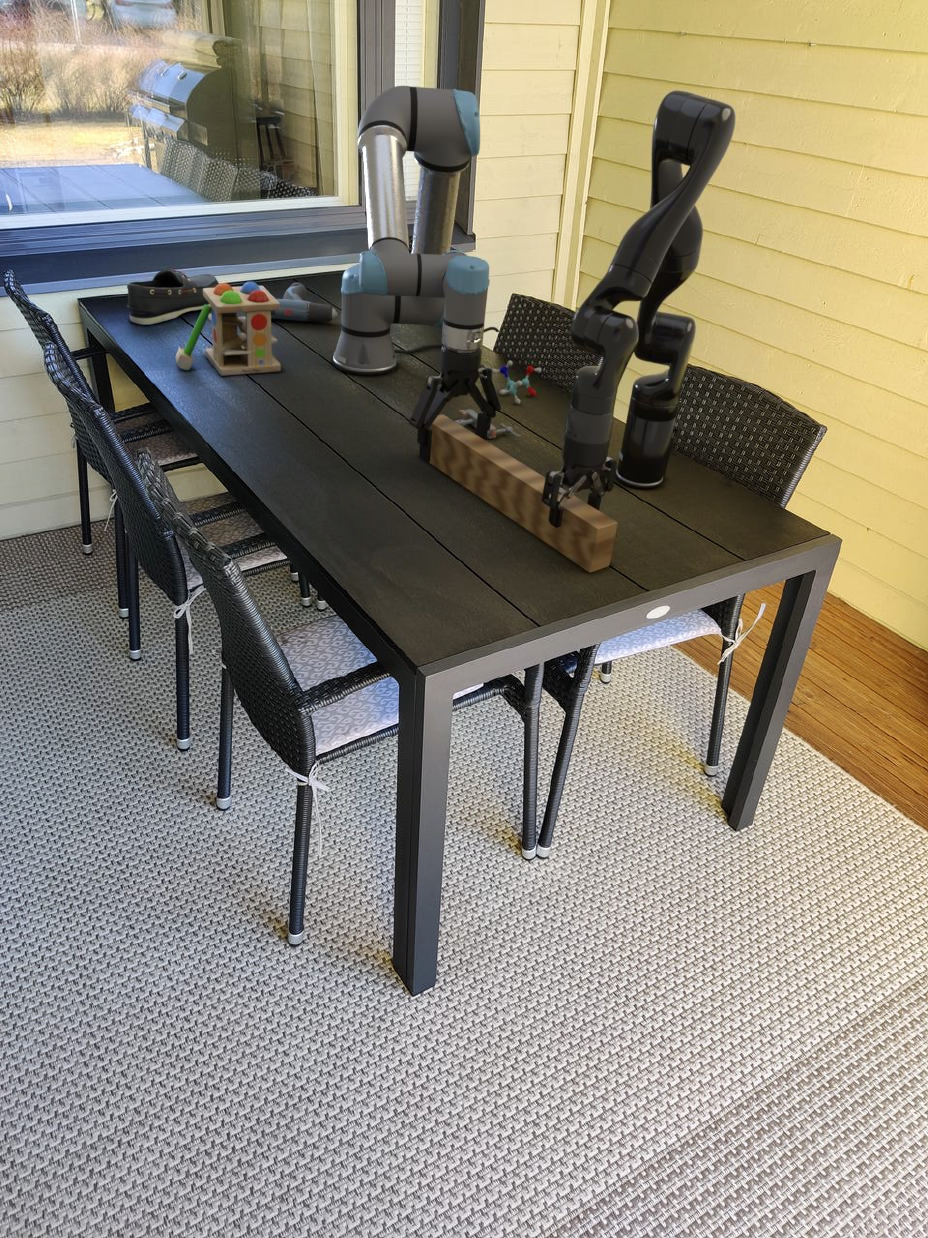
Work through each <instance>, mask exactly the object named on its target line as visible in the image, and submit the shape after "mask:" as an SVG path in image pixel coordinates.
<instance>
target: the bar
mask: <svg viewBox="0 0 928 1238" xmlns="http://www.w3.org/2000/svg"><path fill="white" fill-rule="evenodd" d="M425 422H426V421H425ZM425 422H424V423H425ZM430 429H432V443H431V457H430V462H428V463H429V464H430V465H432V466H433V467H434V468H436V469H438V470H439V471H441V472H442V473H444V474H445V475H446V476H448V477H449V478H451V479H452V480H454V482H457V483H458V484H459V485H460V486H462V487H464V488H465V489H467V490H469V492H471V493H472V494H474V495H475V496H477V497H478V498H480V499H481V500H483V501H484V502H485V503H487V504H489V505H490V506H491V507H493V508H495V509H496V510H497V511H499V512H501V513H502V515H503V514H504V515H505V516H506V517H508V519H510V520H512V521H514V522H515V523H516V524H518V525H519V526H520V527H522V528H524V529H525V530H527V531H528V532H530V533H531V534H533V535H535V537H537V538H538V539H539V540H541V541H543V542H544V543H546V544H547V545H548V546H550V547H552V548H553V549H555V550H556V551H558V552H559V553H561V555H563V556H565V558H567V559H569V560H570V561H572V562H573V563H574V564H576V565H577V566H579V567H580V568H582V569H583V570H585V571H586V572H588V573H589V574H591V573H593V572H597V571H599V570H602V569H605V568H608V567H609V566H611V565H610V564H611V560H612V555H613V550H614V544H615V540H616V539H615V538H616V534H617V530H618V529H617V528H618V523H619V522H618V521H616V520H614V519H613V518H612V517H610V516H608V515H606V514H605V513H603V512H601V511H600V510H599V511H598V510H596V509H595V508H593V507H592V506H590V505H588V504H587V502H586V501H583V500H582V499H581V498H579V497H577V496H575V495H574V496H573V497H572V499H568V501H567V502H566V504H565V505H564V507H563V516H562V522H561V527H558V528H555V527H554V526H552V525H551V524H550V522H549V520H548V519H549V512H550V507H549V506H547V505H546V504H544V503H543V502H542V501H541V499H542V494H543V489H544V484H545V478H546V476H544V475H542V474H540V473H538V472H536V471H535V470H534V469H532V468H531V467H529V466H527V465H526V464H524V463H522V462H521V461H519V460H518V459H516V458H514V457H513V456H511V455H510V454H508V453H507V452H505V451H503V450H502V449H499V448H498V447H497V446H495V445H494V444H492V443H491V442H488V440H487V441H485V440H484V439H482V438H480V437H479V436H477V435H476V433H474V432H472V431H471V430H469V429H467V428H466V427H465V426H461V425H459V424H458V423H456V422H455V420H454V419H451V418H450V417H448V416H446V415H445V414H439V415H438V416H437V417H436V419H435V420H434V422H433V423H432V425H431V426H430ZM563 490H565V491H567V490H566V489H564V488H563ZM562 496H563V494H561V495H560V496H559V498H558V499H557V500H559V501H560V499H561V498H562ZM549 497H551V494H550V495H549Z"/></svg>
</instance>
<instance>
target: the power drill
mask: <svg viewBox="0 0 928 1238" xmlns="http://www.w3.org/2000/svg"><path fill="white" fill-rule="evenodd" d="M307 295H308V290H307V287H306V285H304V284H303V283H301V282H293V283H292V284H291V285H290V286H289V287H288V288H287V289H286V291H285V292H284V294H283V297H282V298H275V299H276V300H277V301H278V302H279V303H280V310H271V319H274V320H275V319H276V320H283V321H294V322H295V321H297V322H332V321H333V320H334V319H336V318H337V317H338V312H337V311H336V308H334V307H333V306H332V305H331V304H324V303H317V302H313V301H307V300H305V299H306V297H307Z"/></svg>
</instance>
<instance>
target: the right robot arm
mask: <svg viewBox="0 0 928 1238" xmlns="http://www.w3.org/2000/svg"><path fill="white" fill-rule="evenodd" d="M656 111H657V112H656V114H655V117H654V122H653V126H652V135H651V152H650V153H651V155H650V156H651V161H650V162H651V164H650V167H651V170H650V171H651V172H650V174H651V177H650V178H651V179H650V180H651V181H650V183H651V184H650V187H651V188H650V203H649V210H647V211H646V212H644V214H642V215H641V216H640V217H639V218H637V219H636V220H635V221H634V222H633V223H632V224H631V225H630V226H629V228H628V229H626V231H625V233H624V234H623V236H622V238H621V240H620V242H619V243H618V246H617V249H616V250H615V253H614V255H613V257H612V259H611V261H610V264H609V266H608V269H607V271H606V273H605V274H604V276H603V277H602V278H601V280H600V281H599V282H598V283H597V284H596V286H595V287H594V289H592V291H591V292H590V294H589V295H588V296H587V297H586V298H585V300H584V301H583V302H582V303H581V304H580V306H579V307H578V309H577V311H576V312H575V313H574V316H573V318H572V320H571V322H570V323H571V324H570V328H569V329H570V331H569V334H570V335H569V336H570V340H571V343H572V345H573V346H575V347H576V349H579V350H581V351H584V352H587V353H589V354H591V355H594V356H597V357H600V358H602V362H601V365H599V366H598V365H586V366H583V367H580V368H579V369H578V370H577V371H576V373H575V375H574V378H573V383H572V384H573V386H572V392H571V399H570V405H569V409H568V412H567V415H566V421H565V426H564V432H563V433H564V434H563V440H562V447H561V457H562V462H563V464H562V467H561V468H560V469H559V470H557V471H554V470H552V469H548V470H547V471H546V473H545V484H544V489H543V494H542V499H541V501H542V502H543V503H544V504H546V505H547V506H549V507H550V512H549V519H548V520H549V522H550V524H551V525H552V526H554V527H555V528H558V527H561V522H562V516H563V507H564V505H565V504H566V502H567V501H568V499H572V497H573V496H575V495H576V493H580V492H581V491H583V490H589V491H590V492H589V493H588V497H587V501H586V503H587V504H588V505H590V506H592V507H593V508H595V509H596V510H598V511H600V508H601V504H602V498H603V497H604V495H605V494H606V493H607V492H608V493H610V492H612V490H613V489H614V484H615V483H614V482H615V478H616V479H617V481H619V482H620V483H622V484H624V485H626V486H628V487H632V488H636V489H645V490H646V489H648V490H649V489H655V488H658V487H660V486H661V485H662V483H663V481H664V480H665V478H666V472H667V469H668V464H669V460H670V455H671V450H672V446H673V441H674V435H673V432H678V431H679V429H678V430H677V429H673V428H674V426H675V422H676V418H677V413H678V409H679V404H680V399H681V395H682V390H683V385H684V380H685V376H686V372H687V368H688V364H689V360H690V357H691V354H692V350H693V346H694V343H695V338H696V331H697V324H696V321H695V319H694V318H693V317H691V316H687V315H682V314H676V313H672V312H671V313H670V312H664V311H661V310H659V309H660V307H661V306H662V304H663V303H664V302H665V301H666V300H667V298H669V297H670V296H671V295H672V294H674V292H676V291H677V290H679V288H680V287H681V286H683V285H684V284H685V283H686V282H687V281H688V280H689V279H690V278H691V276H692V275H693V274H694V273H695V271H696V269H697V267H698V265H699V262H700V256H701V251H702V245H703V237H704V226H703V221H702V218H701V215H700V212H699V210H698V208H697V205H696V204H697V202H698V201H699V199H700V197H701V196H702V194H703V193H704V191H705V190H706V188H707V186H708V184H709V182H710V181H711V179H712V178H713V176H714V175H715V173H716V171H717V169H718V168H719V166H720V164H721V162H722V161H723V159H724V157H725V155H726V153H727V151H728V149H729V147H730V144H731V142H732V140H733V139H732V138H733V135H734V132H735V127H736V111H735V109H734V108H733V106H732V105H730V104H728V103H725V102H723V101H721V100H717V99H712V98H709V97H706V96H703V95H699V94H695V93H693V92H689V91H685V90H675V89H674V90H672V91H669V92H668V93H667V94H666V95H665V96H664V97H663V98H662V100H661V101H660V103H659V106H658V108H657V110H656ZM683 166H687V167H688V170H687V171H686V173H685V175H684V174H683ZM625 302H639V303H638V304H639V305H638V311H637V317H636V320H635V318H634V317H632V316H631V315H628V314H626V313H623V312H620V311H616V310H614V309H615V308H617V306H618V305H620V304H621V303H625ZM633 355H634V356H635V358H636V359H637V360H640V361H641V362H642V361H643V362H647V363H650V364H651V363H652V364H656V365H660V366H667V367H668V369H666V370H664V371H662V372H661V371H660V372H658V373H654V374H653V373H652V374H647V375H642V376H640V377H638V378H636V379H635V380H634V381H633V383H632V389H631V394H630V399H629V400H630V401H629V403H628V409H627V415H626V416H627V417H626V420H625V425H624V431H623V436H622V442H621V448H620V449H619V451H618V457H619V458H618V463H617V460H615V459H614V458H612V457H611V456H608V454H609V448H610V442H611V436H612V432H613V427H614V426H613V425H614V413H615V405H616V401H617V394H618V388H619V386H620V383H621V381H622V378H623V376H624V374H625V371H626V369H627V366H628V364H629V362H630V361H631V359H632V357H633ZM564 486H565V487H566V488H567V489H568V490H566V489H564ZM563 489H564V490H563ZM565 490H566V491H565ZM550 494H551V497H549V495H550ZM561 494H563V496H562V498H561V499H560V501H559V500H557V499H558V498H559V496H560V495H561Z"/></svg>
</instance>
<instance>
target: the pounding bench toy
mask: <svg viewBox="0 0 928 1238" xmlns="http://www.w3.org/2000/svg"><path fill="white" fill-rule="evenodd" d="M203 296H204V297H205V299H206V300H207V301H208V302H209V304H210V305H211V307H210V306H208V305H204V307H203V309H201V312H200V313H199V316H198V318H197V320H196V322H195V324H194V327H193V329H192V331H191V332H190V333H191V334H190V336H189V338H188V340H187V343H186V344H185V347H184V348H182V347H180V346H179V347H178V349H177V351H176V354H175V357H174V358H175V362H176V365H177V366H178V368H179V369H182V370H185V371H189V370H190V369H191V367H192V365H193V363H194V356H193V351H194V348H195V347H196V345H197V342H198V340H199V337H200V336H201V333H202V332H203V329H204V326H205V325H206V322H207V320H209V321H210V322H211V336H212V337H211V338H212V339H211V340H212V348H205V349H204V352H205V353H204V355H205V357H206V359H208V361H209V363H210V364H211V365H212V366H213V367H214V369H215V370H216V371H217V372H218V374H219V375H220V376H222V377H223V376H234V375H235V376H236V375H246V374H247V375H250V374H262V373H275V372H281V370H282V364H281V363H280V362H279V360H278V359H277V358H276V357H275V356H274V355H273V348H272V347H273V345H272V344H276V343H278V342H279V341H278V339H277V338H276V337H275V336H274V334H272V318H271V310H280V303H279V302H278V301H277V300H276V299H277V298H276V297H274V296H273V295H272V294H271V293H270V292H269V290H268V289H267V288H266V287H264V285H259V284H257V283H256V282H255V281H247V282H245V283H244V284H243V285H242V286H232V285H230V284H229V283H226V282H221V283H219V284H218V285H217V286H216V287H215V288H204V289H203ZM238 313H244V314H245V315H244V316H238ZM238 329H239V331H240V333H239V334H238Z"/></svg>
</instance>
